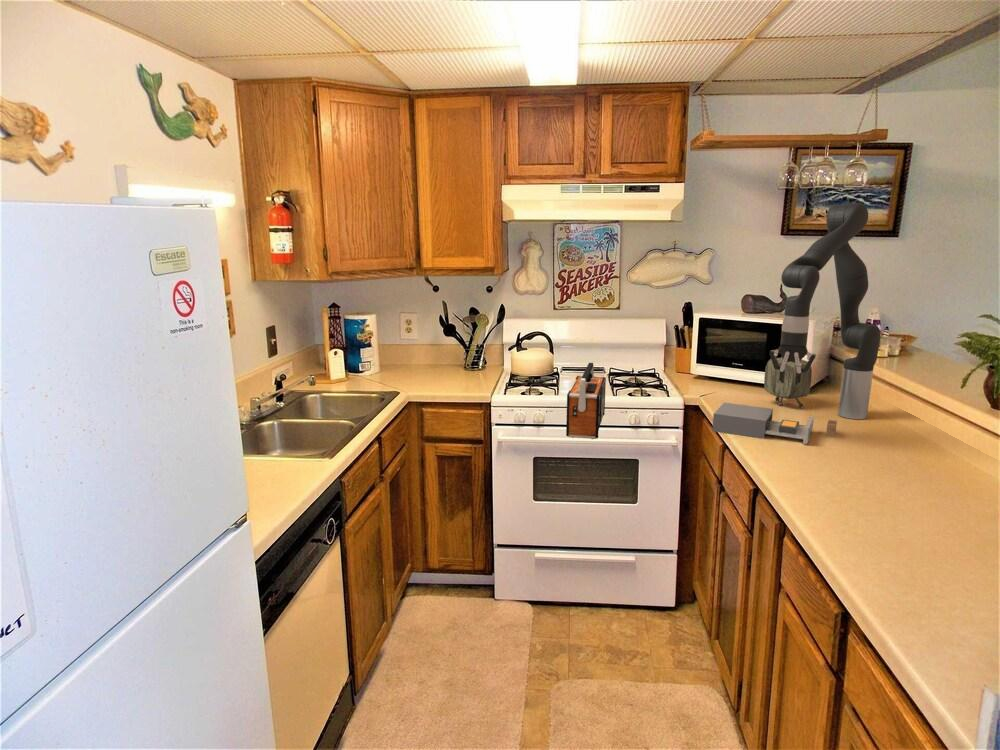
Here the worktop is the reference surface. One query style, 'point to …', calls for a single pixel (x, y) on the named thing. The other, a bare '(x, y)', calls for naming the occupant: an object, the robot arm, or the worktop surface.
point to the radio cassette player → (586, 405)
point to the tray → (802, 433)
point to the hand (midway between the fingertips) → (789, 383)
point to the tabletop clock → (787, 381)
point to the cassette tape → (789, 426)
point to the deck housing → (741, 420)
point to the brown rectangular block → (831, 428)
